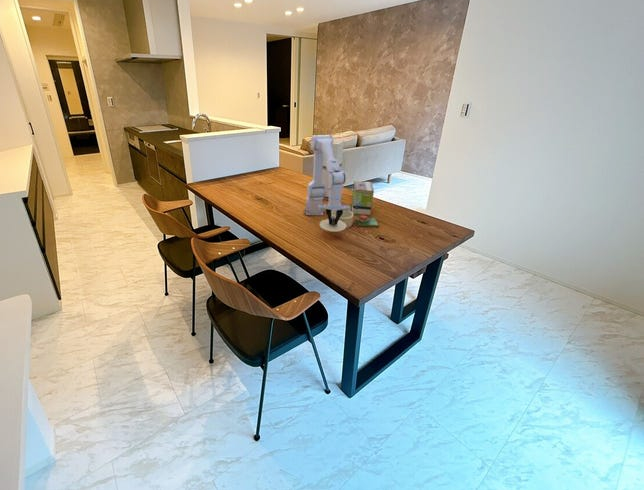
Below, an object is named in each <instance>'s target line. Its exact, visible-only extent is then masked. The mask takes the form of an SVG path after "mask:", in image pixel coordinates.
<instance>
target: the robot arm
mask: <svg viewBox="0 0 644 490" xmlns="http://www.w3.org/2000/svg"><path fill="white" fill-rule="evenodd" d="M333 143H334V137H333V135H332V134H321V135H319V134H318V135H315V134H313V135H312V136H311V139H310V150H311V151H312V152H313V168H312V173H313V174H312V180H311V181H310V182H308V183H307V187H306V196H307V197H305V207H304V210H305V215H306V216H324V211H325V214H326V216H327V219H329V225H331V214H332V213H331V211H336V225H337V223H338V220H339V218H340V217H341V215H342V214H343V210H348V211H351V209H352V206H351V205H348V204H347V205H346V204H342V198H343V197H342V196H343V185H344V184H345V183H346V180H347V177H346V172H345V171H344V170H343V169H342V168H341V169H340V166H339V164H338V161H337V159H335V158H334V156H333V151H332V146H333ZM323 154H324V156H325V158H326V160H327V161H326V163H325V165H326V168H327V171H328V174H329V175H328V182H329V185H328V186H329V200H327V202H328V203H326V204H324V203H323V201H324V200H325V199H324V197H325V196H326V194H327V190H326V184H325V183H324V182H323V181H322V170H323Z"/></svg>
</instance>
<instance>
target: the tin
mask: <svg viewBox="0 0 644 490" xmlns="http://www.w3.org/2000/svg"><path fill="white" fill-rule="evenodd" d="M331 213H332V214H331V218H332V217H335V218H336V211H333V210H331ZM354 215H355V214H353V213H352V210H350V211H348V210H343V214H342V215H341V217H340V218H339V220H340V221H342V222H344V223H345V224H346V228H350V227H352V226H353V224H354Z"/></svg>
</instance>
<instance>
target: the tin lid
mask: <svg viewBox="0 0 644 490" xmlns="http://www.w3.org/2000/svg"><path fill="white" fill-rule="evenodd" d="M319 227H320V228H321V229H322V230H324V231H326V232H332V233H337V232H338V233H339V232H342V231H344V230H346V224H345V223H344V222H342V221H340V220H338V223H337V225H336V218H335V217H332V218H331V225H329V219H328V218H326V219H323V220H321V221H320V222H319Z"/></svg>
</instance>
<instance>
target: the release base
mask: <svg viewBox="0 0 644 490" xmlns="http://www.w3.org/2000/svg"><path fill="white" fill-rule="evenodd" d="M360 216H361V215H358V216H356V217H355V222H356V225H357V228H379V223H378V221H377V219H376V217H369V216H367V219H366V220H361V219H360Z"/></svg>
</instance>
